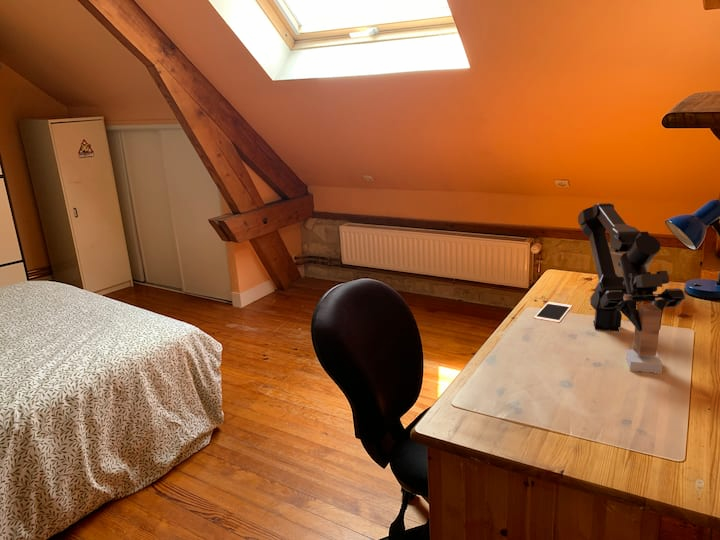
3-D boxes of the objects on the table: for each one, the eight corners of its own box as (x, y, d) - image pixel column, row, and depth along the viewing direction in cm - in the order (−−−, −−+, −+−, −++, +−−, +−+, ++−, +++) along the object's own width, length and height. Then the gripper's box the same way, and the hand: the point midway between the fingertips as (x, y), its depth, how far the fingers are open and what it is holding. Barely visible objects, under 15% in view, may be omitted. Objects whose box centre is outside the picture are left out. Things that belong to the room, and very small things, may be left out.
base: (629, 370, 137) (630, 361, 137) (625, 358, 144) (626, 349, 143) (661, 373, 135) (662, 364, 135) (655, 360, 142) (656, 351, 141)
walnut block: (632, 348, 141) (637, 304, 137) (648, 348, 140) (654, 304, 137) (639, 356, 137) (644, 310, 133) (656, 355, 136) (661, 310, 133)
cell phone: (572, 307, 180) (572, 305, 180) (559, 323, 168) (559, 322, 168) (548, 303, 185) (548, 301, 184) (533, 319, 172) (533, 317, 172)
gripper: (608, 259, 136) (622, 318, 129) (686, 257, 135) (705, 316, 128) (594, 279, 146) (606, 335, 139) (667, 278, 145) (683, 334, 137)
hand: (649, 330), depth 135 cm, fingers closed on walnut block, 4 cm apart
